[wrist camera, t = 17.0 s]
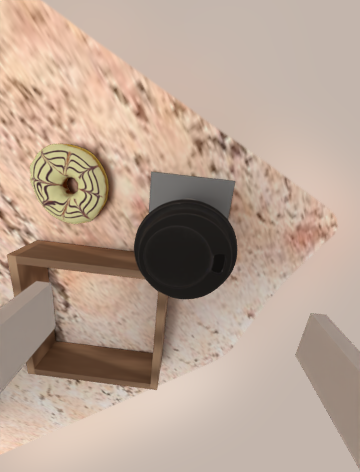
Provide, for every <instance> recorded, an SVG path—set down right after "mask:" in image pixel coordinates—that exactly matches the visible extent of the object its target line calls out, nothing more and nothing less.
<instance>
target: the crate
mask: <svg viewBox="0 0 360 472" xmlns="http://www.w3.org/2000/svg"><path fill="white" fill-rule="evenodd" d="M7 258H8V264H9V270H10V275H11V281H12V286H13V292H14V297H16V296H17V295H18V294H20V293H21V292H22V291H24V290H25V289H26V288H28V287H29V286H30V285H32V284H33V283H34V282H36V281H40V282H48V283H49V276H48V268H56V269H64V270H72V271H81V272H89V273H97V274H106V275H114V276H122V277H130V278H139V279H145V278H144V276H143V275H142V274H141V272H140V270H139V268H138V266H137V263H136V260H135V254H134V252H133V251H124V250H116V249H108V248H99V247H91V246H82V245H74V244H65V243H57V242H49V241H40V240H37V241H35V242H33V243H31V244H28V245H26V246H24V247H22V248H20V249H18V250H16V251H14V252H12V253H10V254H8V255H7ZM167 303H168V296H167V295H165V294H162V293H161V292H159V291H158V300H157V312H156V324H155V336H154V348H153V353H146V352H138V351H130V350H123V349H115V348H107V347H99V346H91V345H83V344H75V343H67V342H59V341H56V338H55V329H54V330H53V331H52V332H51V333H50V334H49V336H48V337H47V338H46V339H45V340H44V342H43V343H42V344H41V345H40V346H39V348H38V349H37V350H36V351H35V352H34V354H33V355H32V356H31V357H30V358H29V360H28V361H27V362H26V364H27V370H28V373H29V374H37V375H44V376H52V377H60V378H68V379H76V380H83V381H91V382H99V383H107V384H114V385H122V386H130V387H138V388H145V389H154V390H157V387H158V380H159V374H160V367H161V361H162V352H163V342H164V332H165V323H166V313H167Z"/></svg>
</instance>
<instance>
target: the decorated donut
mask: <svg viewBox="0 0 360 472" xmlns="http://www.w3.org/2000/svg"><path fill="white" fill-rule="evenodd" d="M30 173H31V177H30V181H31V184H32V186H33V189H34V192H35V194H36V196H37V198H38V200H39V202H40V203H41V205H42V206H43V207H44V208H45V209H46V210H47V211H48V212H49V213H50V214H51V215H52V216H54V217H56V218H57V219H59V220H61V221H64V222H67V223H72V224H79V223H85V222H90V221H92V220H93V219H94V218H95V217H96V216H97V215H98V213H99V212H100V211H101V210H102V208H103V207H104V205H105V203H106V200H107V197H108V190H109V188H108V178H107V175H106V173H105V170H104V168H103V167H102V165H101V163H100V162H99V160H98V159H97V158H96V157H95V156H94V155H93V154H92V153H91V152H89V151H88V150H86V149H83V148H80V147H78V146H73V145H69V144H52V145H49V146H47V147H45V148H43V149H42V150H41V151H40V152H39V153H38V154H37V156H36V157H35V159H34V161H33V162H32V163H31V165H30ZM69 177H72V178H75V179H76V181H77V182H78V191H77V192H76V193H75V194H73V193H72V192H71V191H69V189H68V186H67V180H68V178H69Z"/></svg>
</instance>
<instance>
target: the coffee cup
mask: <svg viewBox="0 0 360 472" xmlns="http://www.w3.org/2000/svg"><path fill="white" fill-rule="evenodd" d="M134 254H135V260H136V263H137V266H138V268H139V270H140V272H141V274H142V275H143V276H144V278H145V279H146V280H147V281H148V282H149V284H150V285H151V286H152V287H154V288H155V289H156V290H157V291H159V292H161V293H162V294H165V295H167V296H169V297H173V298H177V299H194V298H199V297H202V296H205V295H207V294H209V293H211V292H213V291H214V290H215V289H217V288H218V287H219V286H220V285H221V284H223V283H224V282H225V280H226V279H227V278H228V277H229V275H230V274H231V272H232V270H233V268H234V266H235V262H236V258H237V240H236V236H235V232H234V230H233V228H232V226H231V224H230V222H229V221H228V220H227V218H226V217H225V216H224V215H223V214H222V213H221V212H220V211H219V210H217V209H216V208H214V207H213V206H211V205H209V204H206V203H204V202H201V201H197V200H195V199H180V200H174V201H170V202H167V203H164V204H162V205H160V206H158V207H157V208H155V209H154V210H152V211H151V212H150V213H149V214H148V215H147V216H146V217H145V218H144V220H143V221H142V223H141V224H140V226H139V228H138V231H137V234H136V238H135V244H134Z"/></svg>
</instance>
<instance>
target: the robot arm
mask: <svg viewBox="0 0 360 472" xmlns="http://www.w3.org/2000/svg"><path fill="white" fill-rule="evenodd" d="M55 327H56V322H55V313H54V303H53V294H52V284H51V283H48V282H40V281H36V282H34V283H33V284H32V285H30V286H29V287H28V288H26V289H25V290H24V291H22V292H21V293H20V294H18V295H17V296H16V297H14V298H13V299H12V300H10V301H9V302H8V303H6V304H5V305H4V306H2V307H1V308H0V393H1V392H2V391H3V390H4V388H5V387H6V386H7V385H8V384H9V382H10V381H11V380H12V379H13V378H14V376H15V375H16V374H17V373H18V372H19V370H20V369H21V368H22V367H23V366H24V364H25V363H26V362H27V361H28V360H29V358H30V357H31V356H32V355H33V354H34V352H35V351H36V350H37V349H38V348H39V346H40V345H41V344H42V343H43V342H44V340H45V339H46V338H47V337H48V336H49V334H50V333H51V332H52V331H53V330H54V328H55ZM295 355H296V357H297V359H298V361H299V362H300V364H301V366H302V368H303V370H304V371H305V373H306V375H307V377H308V378H309V380H310V382H311V384H312V386H313V387H314V389H315V391H316V393H317V395H318V396H319V398H320V400H321V402H322V403H323V405H324V407H325V409H326V411H327V412H328V414H329V416H330V418H331V419H332V421H333V423H334V425H335V427H336V428H337V430H338V432H339V434H340V436H341V437H342V439H343V441H344V443H345V444H346V446H347V448H348V450H349V452H350V453H351V455H352V457H353V459H354V460H355V462H356V464H357V466H358V468H359V469H360V351H359V350H358V349H357V348H356V347H355V346H354V345H353V344H352V342H351V341H350V340H349V339H348V338H347V337H346V336H345V335H344V334H343V333H342V332H341V331H340V330H339V328H338V327H337V326H336V325H335V324H334V323H333V322H332V321H331V320H330V319H329V318H328V316H327V315H322V314H314V313H311V314H310V317H309V319H308V322H307V325H306V327H305V330H304V333H303V336H302V338H301V341H300V344H299V347H298V349H297V352H296V354H295Z"/></svg>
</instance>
